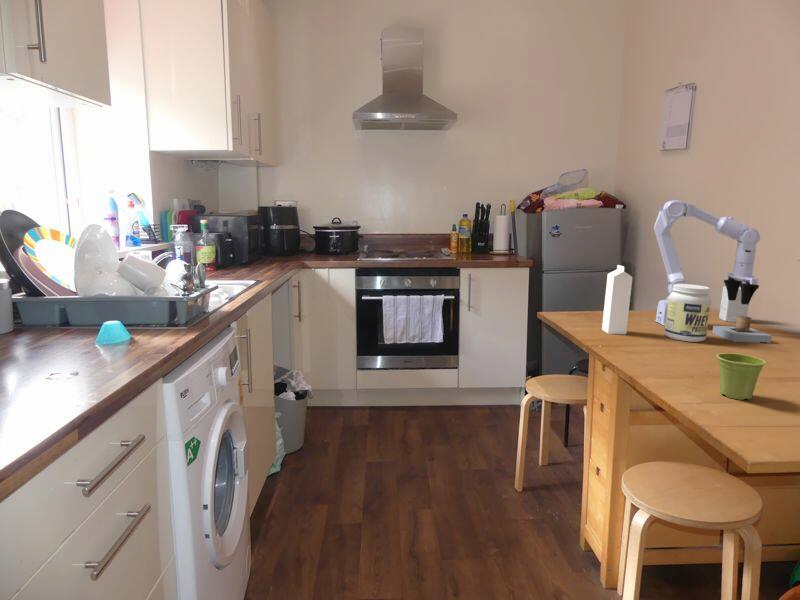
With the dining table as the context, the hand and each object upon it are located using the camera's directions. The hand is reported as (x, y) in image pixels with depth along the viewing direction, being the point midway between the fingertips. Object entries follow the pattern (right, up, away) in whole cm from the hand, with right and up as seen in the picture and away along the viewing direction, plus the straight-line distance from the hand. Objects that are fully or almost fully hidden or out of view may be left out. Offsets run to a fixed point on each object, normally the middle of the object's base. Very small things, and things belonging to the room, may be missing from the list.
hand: (738, 302), depth 195 cm
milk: (-46, -10, -9) cm, 48 cm away
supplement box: (+9, -7, +20) cm, 23 cm away
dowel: (-5, -12, -10) cm, 16 cm away
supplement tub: (-25, -12, -13) cm, 31 cm away
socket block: (-5, -12, -10) cm, 16 cm away
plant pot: (-42, -21, -69) cm, 83 cm away
